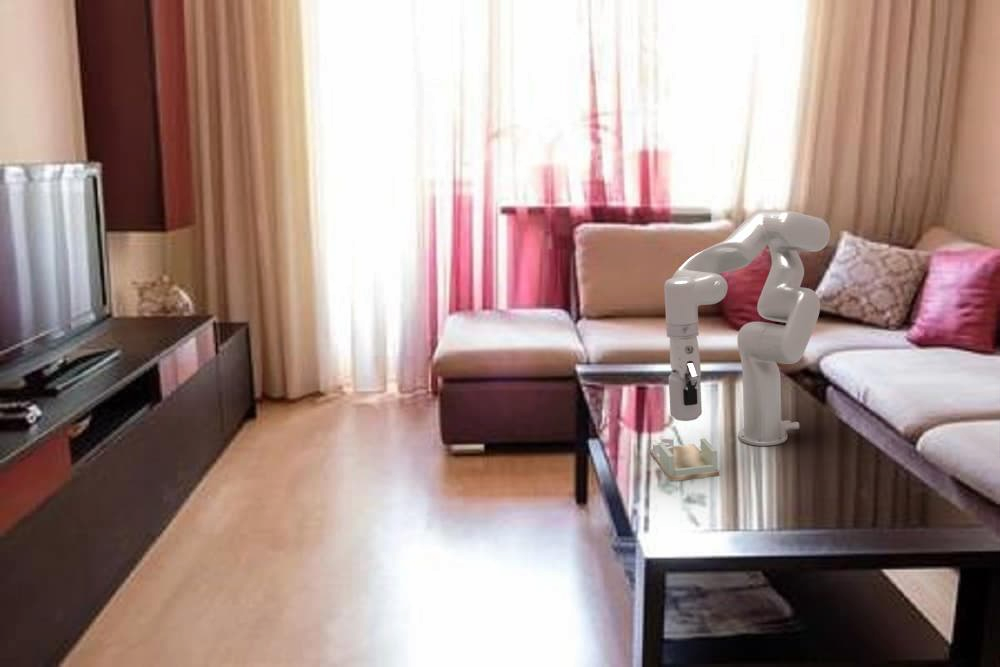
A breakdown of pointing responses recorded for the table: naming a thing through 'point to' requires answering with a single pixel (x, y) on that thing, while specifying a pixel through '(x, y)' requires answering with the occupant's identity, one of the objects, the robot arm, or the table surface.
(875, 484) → the table surface
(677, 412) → the can
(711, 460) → the bracket
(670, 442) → the clip
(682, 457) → the board
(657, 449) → the clip
